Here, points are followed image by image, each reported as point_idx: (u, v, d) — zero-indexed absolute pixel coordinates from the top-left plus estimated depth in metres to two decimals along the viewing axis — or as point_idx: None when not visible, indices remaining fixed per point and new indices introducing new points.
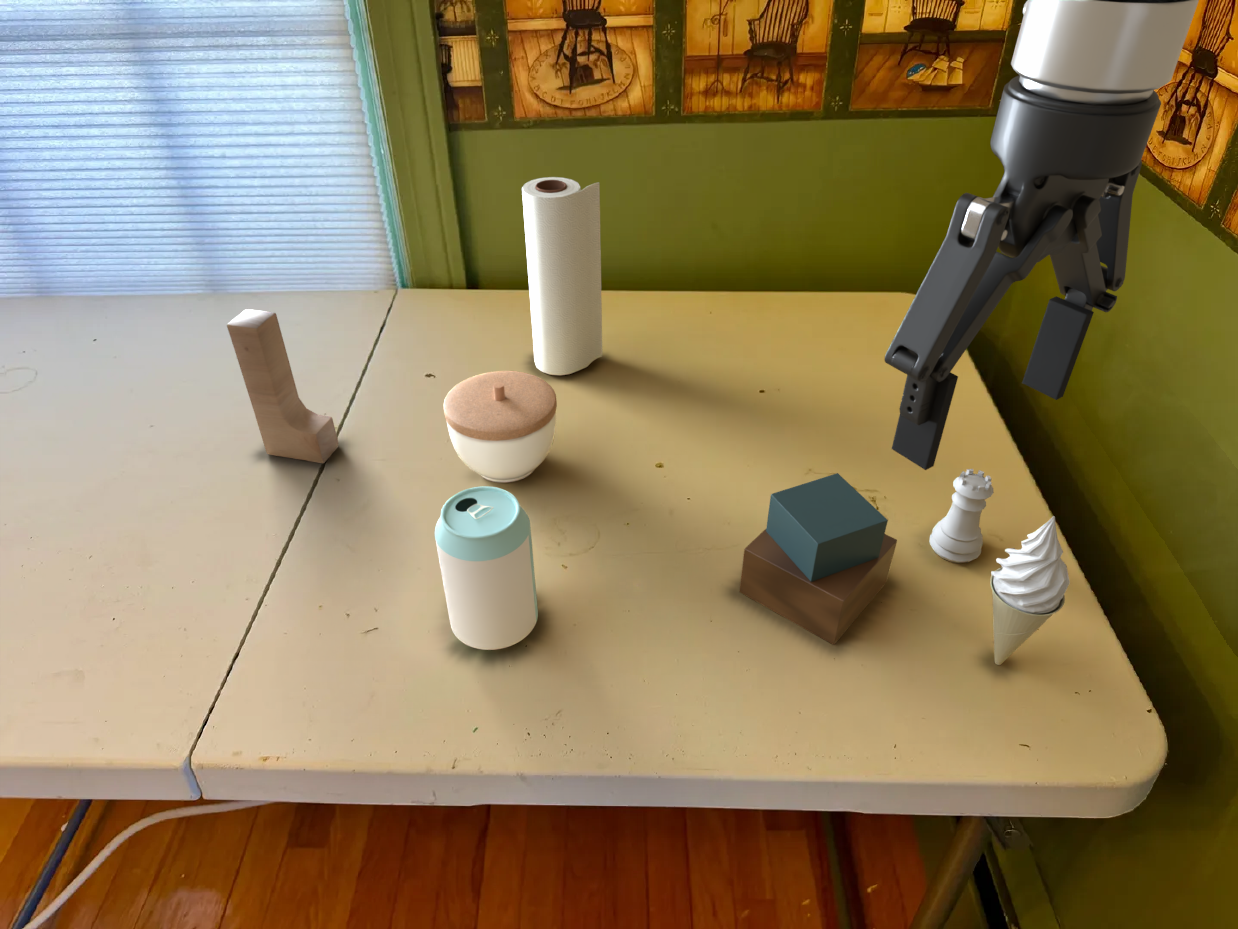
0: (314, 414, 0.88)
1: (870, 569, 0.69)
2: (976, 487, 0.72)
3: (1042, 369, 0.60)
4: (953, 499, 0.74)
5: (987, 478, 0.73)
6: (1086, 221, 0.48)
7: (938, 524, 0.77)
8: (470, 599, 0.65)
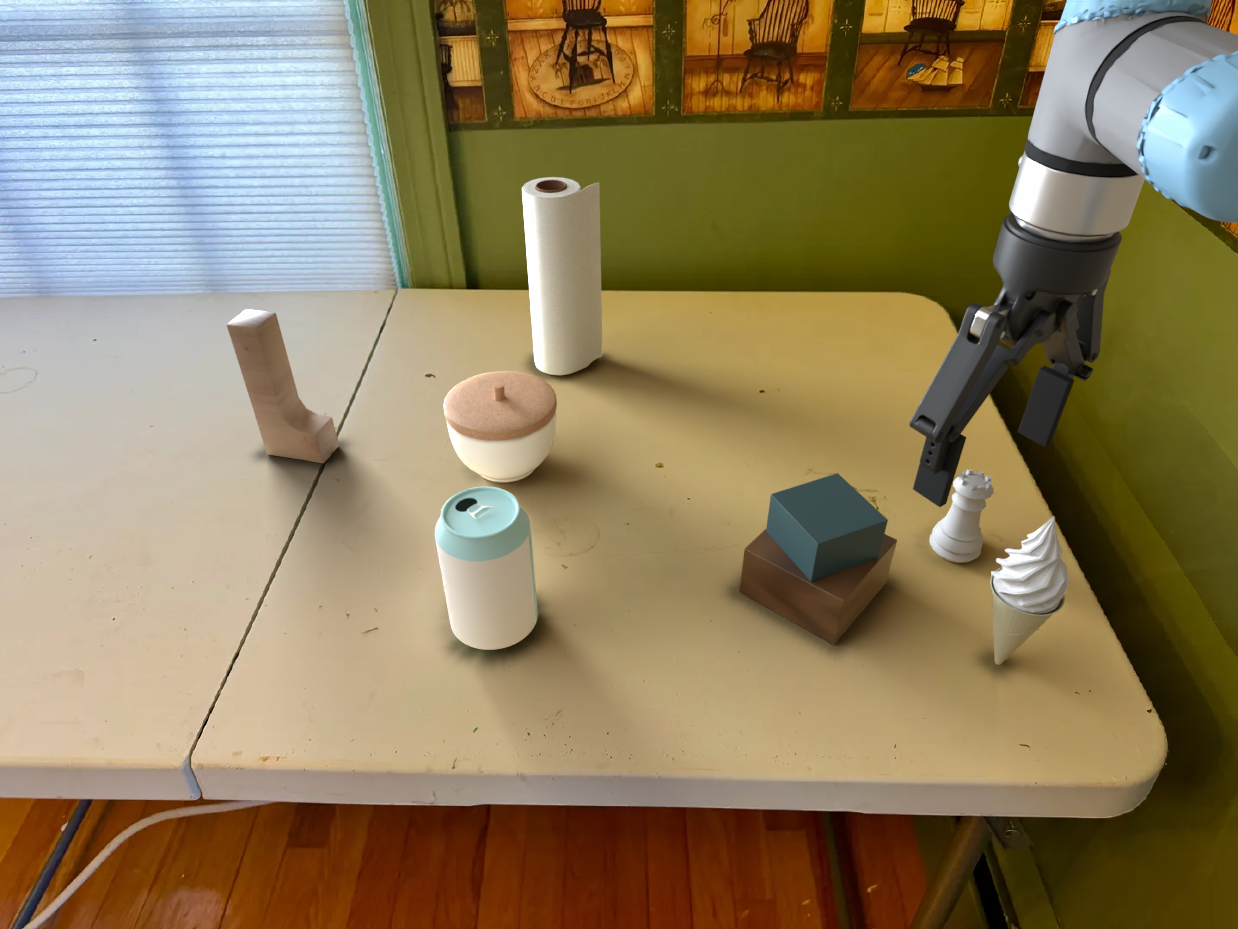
0: (314, 414, 0.88)
1: (870, 569, 0.69)
2: (976, 487, 0.72)
3: (1033, 422, 0.74)
4: (953, 499, 0.74)
5: (987, 478, 0.73)
6: (1066, 319, 0.63)
7: (938, 524, 0.77)
8: (470, 599, 0.65)
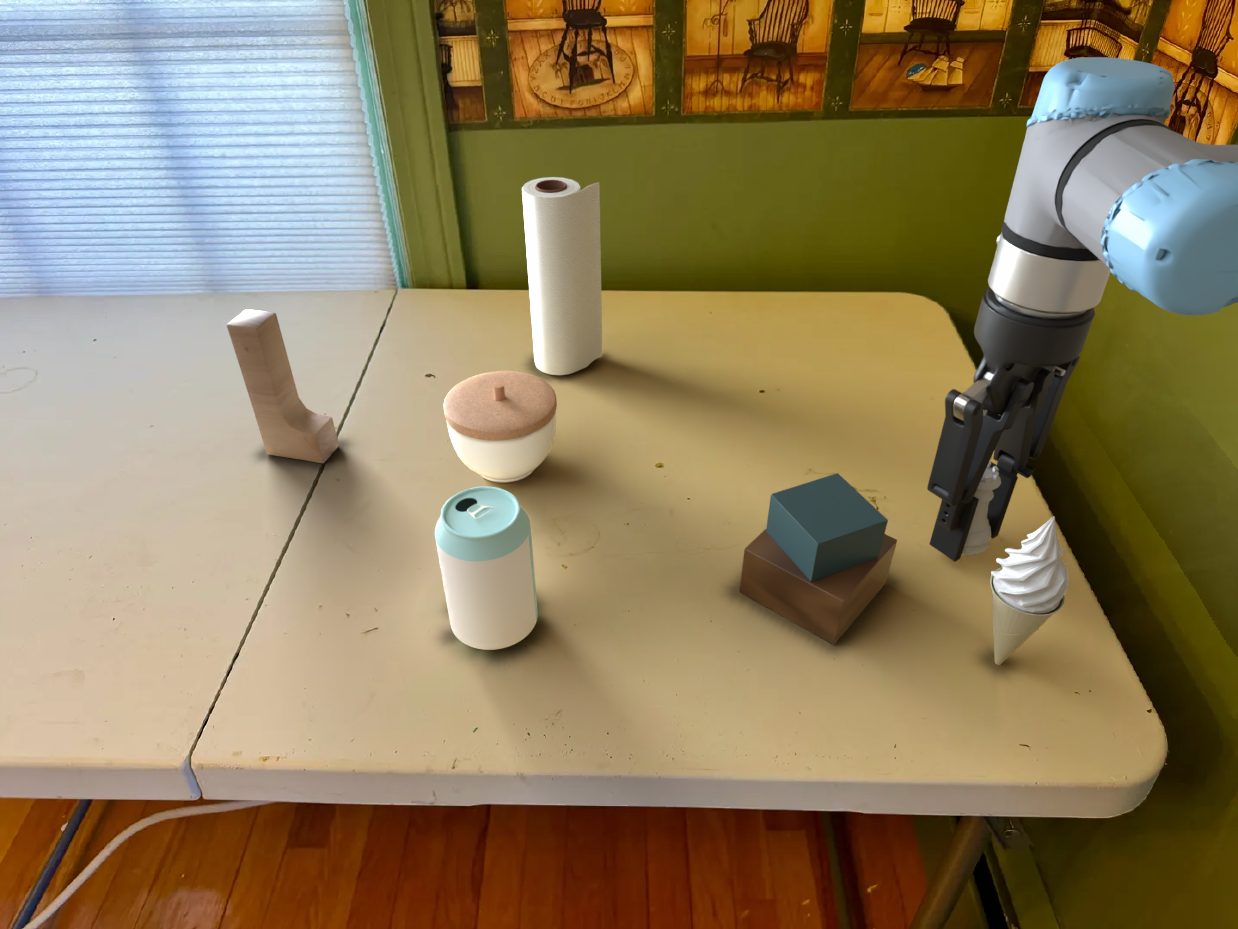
0: (314, 414, 0.88)
1: (870, 569, 0.69)
2: (983, 478, 0.71)
3: None
4: None
5: (994, 468, 0.72)
6: (1043, 385, 0.66)
7: None
8: (470, 599, 0.65)
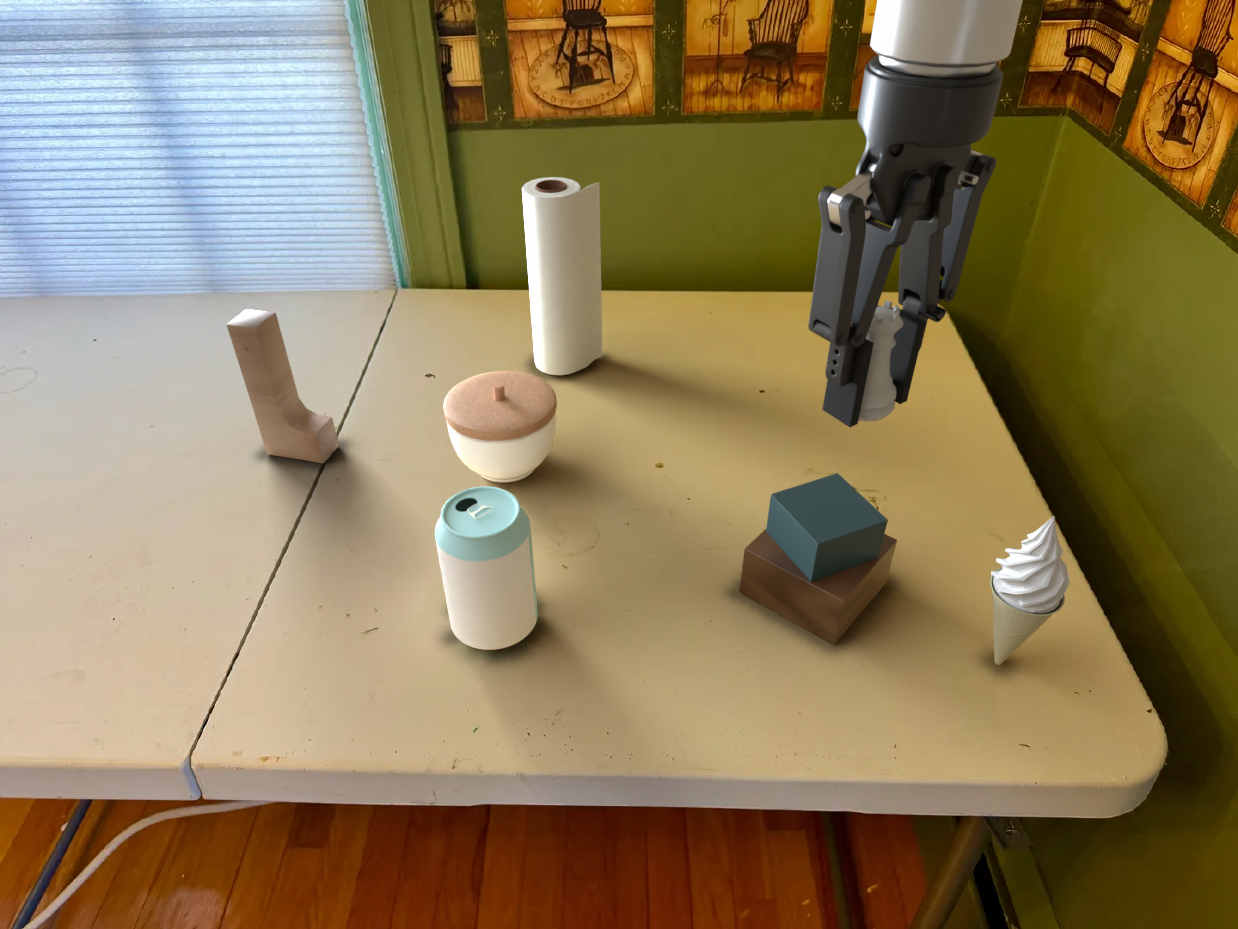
0: (314, 414, 0.88)
1: (870, 569, 0.69)
2: (880, 319, 0.58)
3: None
4: None
5: (895, 308, 0.59)
6: (945, 186, 0.52)
7: None
8: (470, 599, 0.65)
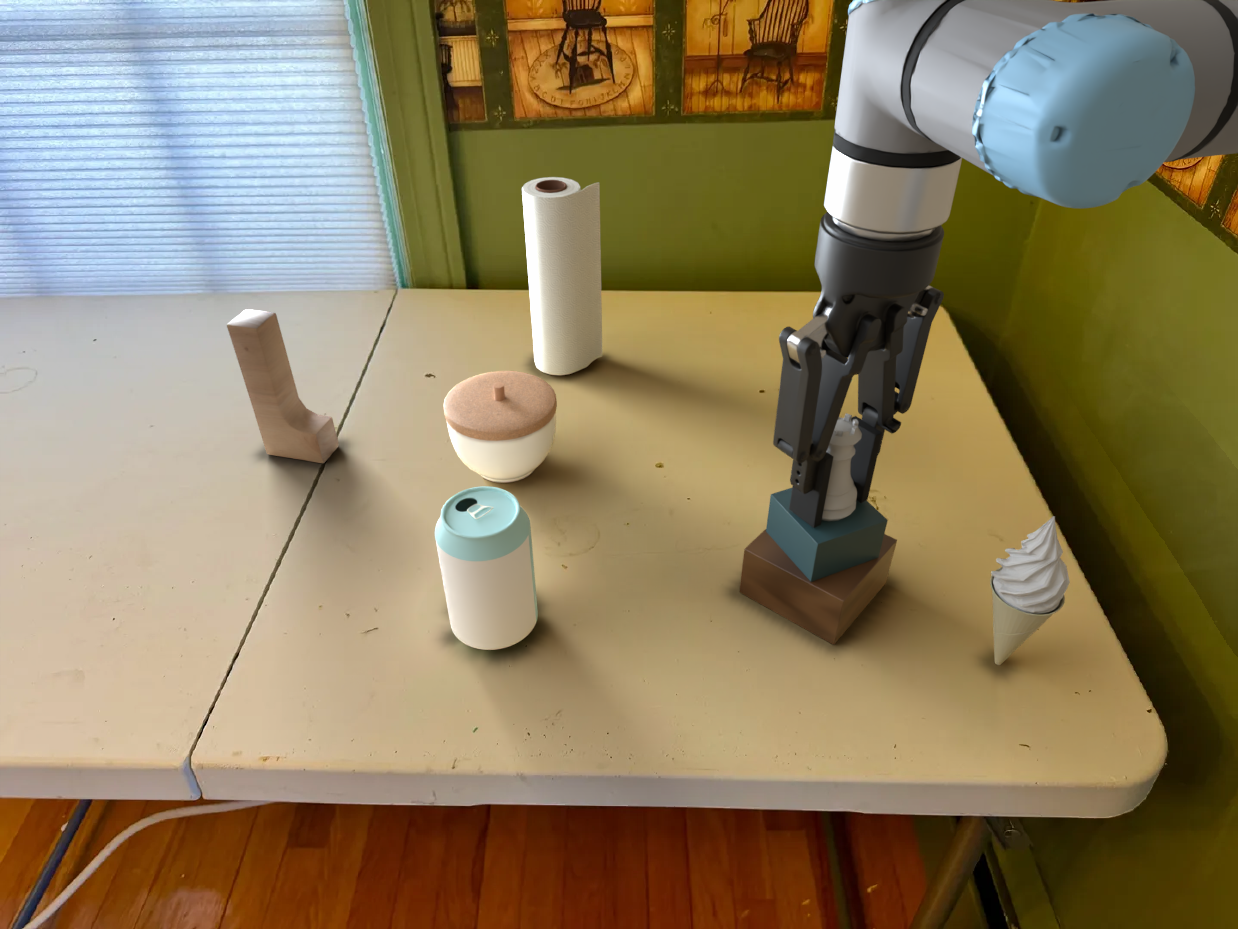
0: (314, 414, 0.88)
1: (870, 569, 0.69)
2: (840, 432, 0.63)
3: None
4: None
5: (854, 422, 0.64)
6: (895, 324, 0.57)
7: None
8: (470, 599, 0.65)
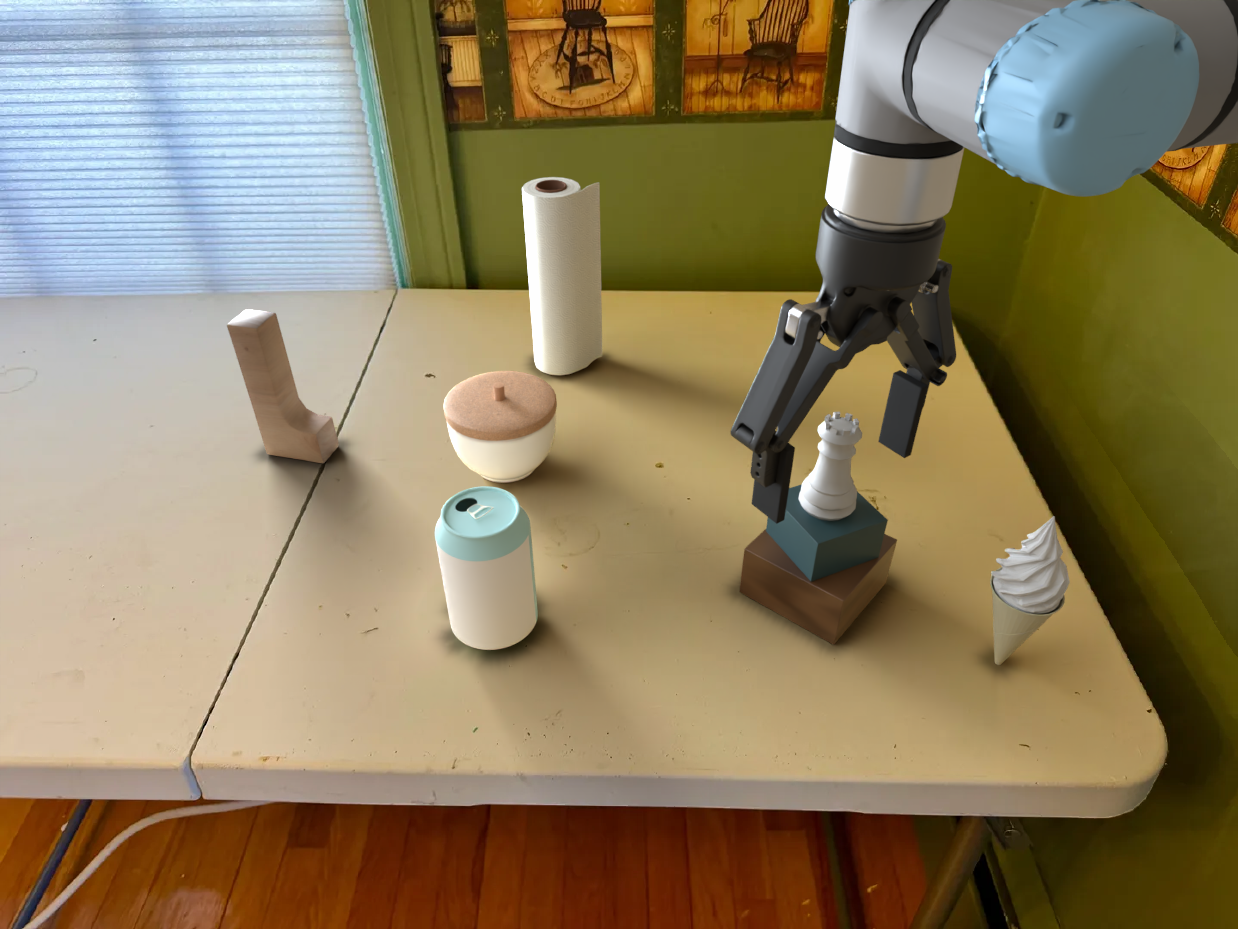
0: (314, 414, 0.88)
1: (870, 569, 0.69)
2: (841, 432, 0.63)
3: (892, 431, 0.69)
4: (819, 447, 0.65)
5: (854, 421, 0.64)
6: (898, 318, 0.57)
7: (807, 477, 0.68)
8: (470, 599, 0.65)
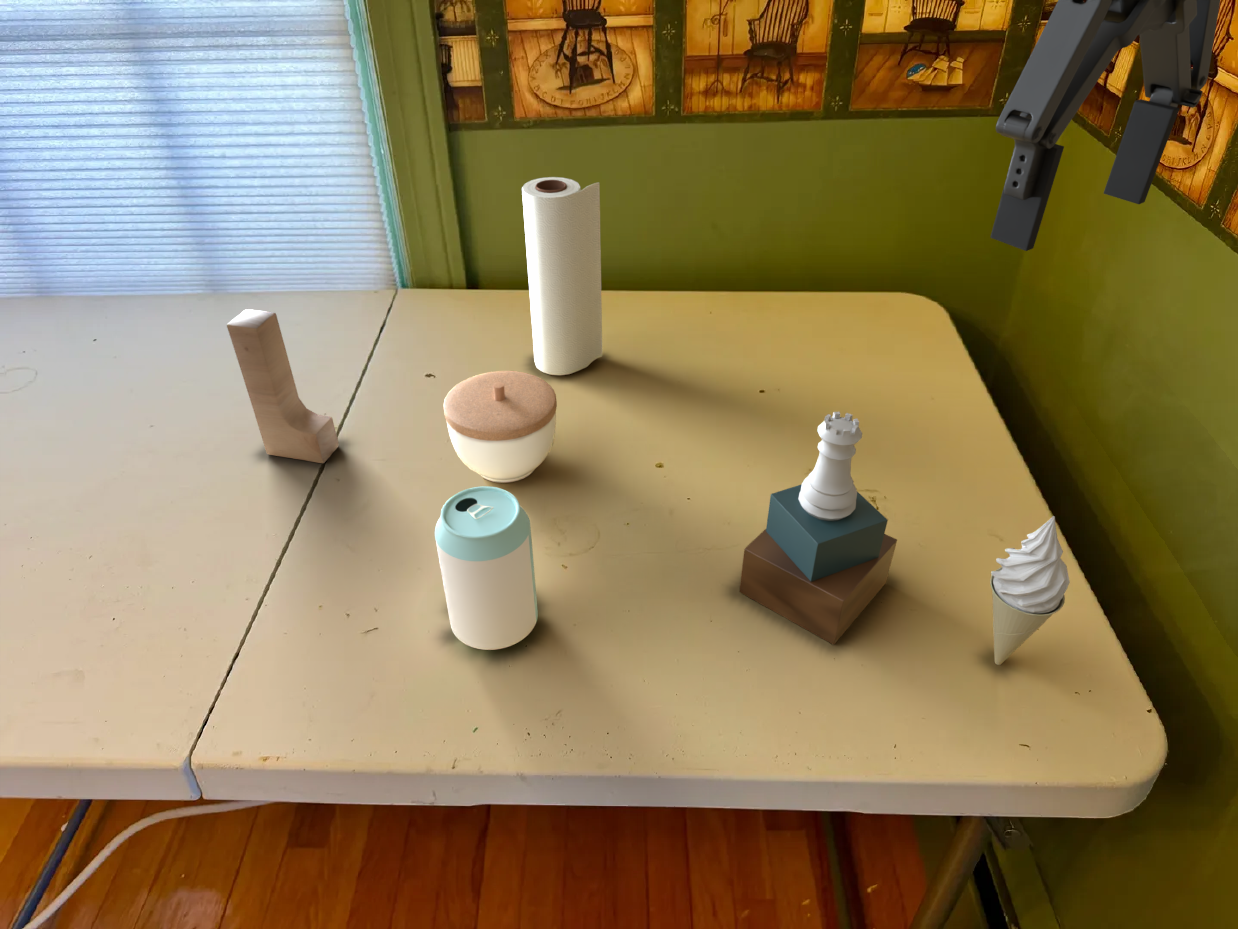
0: (314, 414, 0.88)
1: (870, 569, 0.69)
2: (841, 432, 0.63)
3: (1125, 175, 0.62)
4: (819, 447, 0.65)
5: (854, 421, 0.64)
6: None
7: (807, 477, 0.68)
8: (470, 599, 0.65)
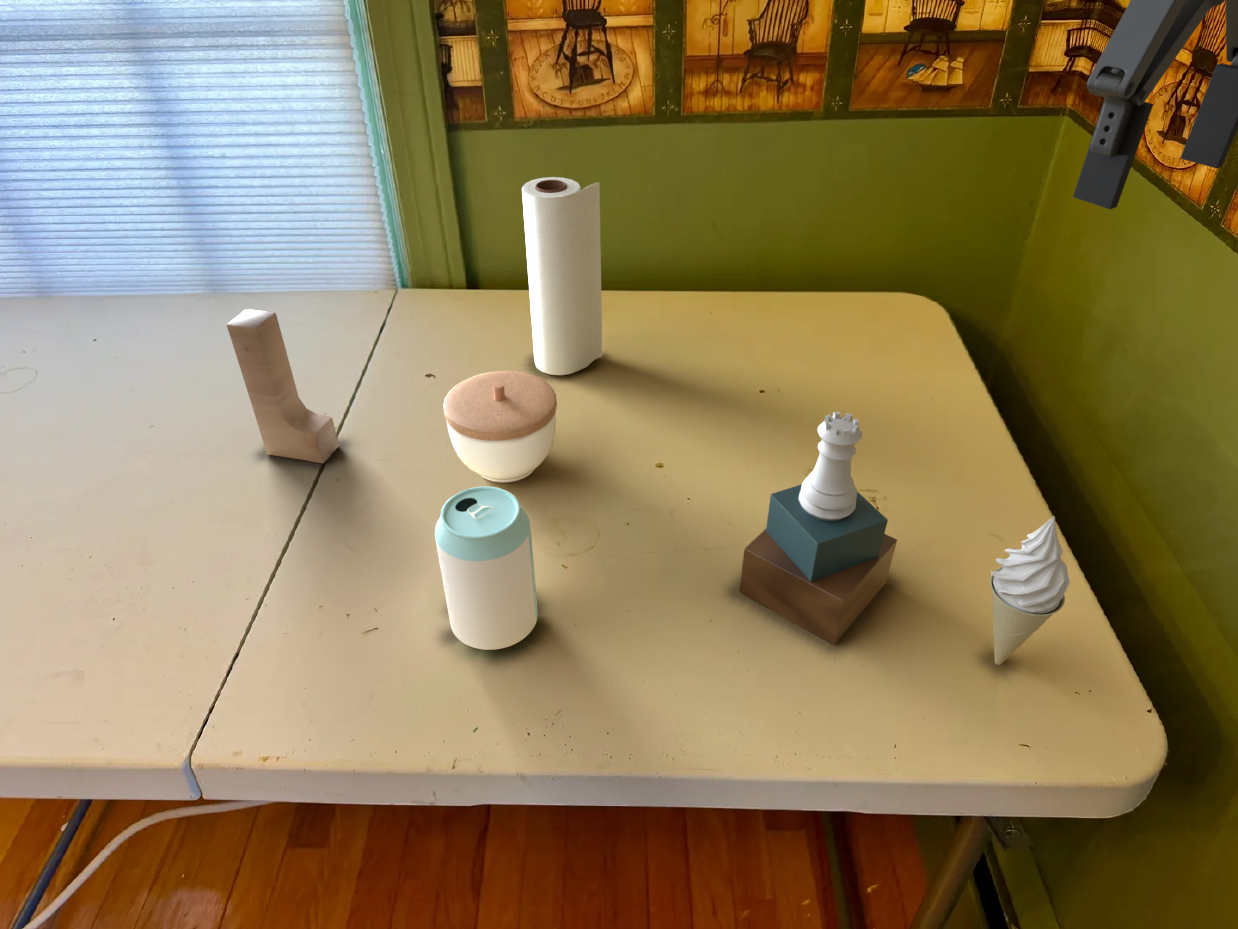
0: (314, 414, 0.88)
1: (870, 569, 0.69)
2: (841, 432, 0.63)
3: (1203, 139, 0.63)
4: (819, 447, 0.65)
5: (854, 421, 0.64)
6: None
7: (807, 477, 0.68)
8: (470, 599, 0.65)
